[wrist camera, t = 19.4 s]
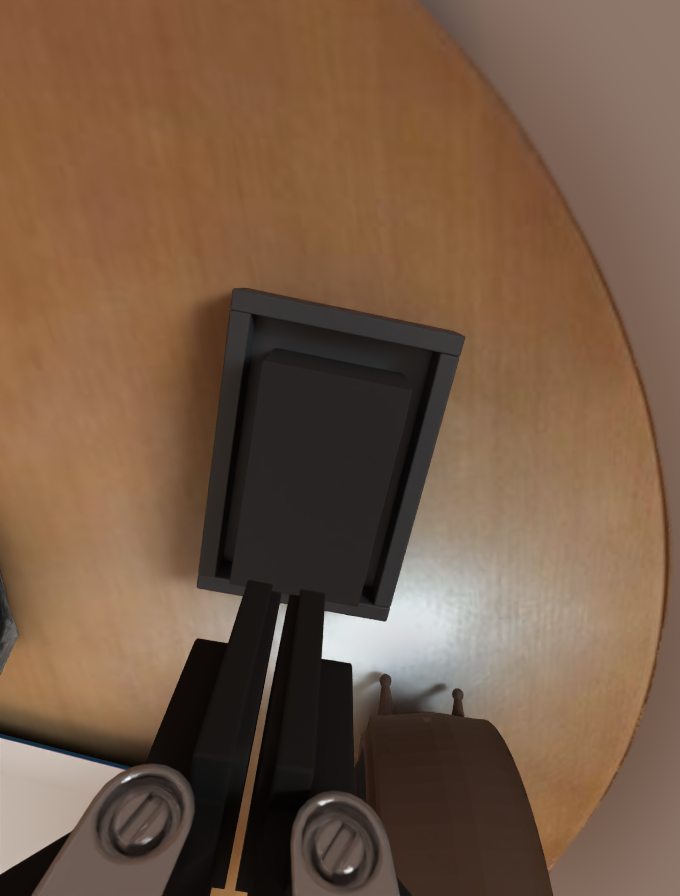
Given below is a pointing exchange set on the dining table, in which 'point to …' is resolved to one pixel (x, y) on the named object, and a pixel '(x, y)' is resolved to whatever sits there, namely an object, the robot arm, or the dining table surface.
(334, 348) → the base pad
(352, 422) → the black rectangular block
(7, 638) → the electronic device
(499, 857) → the alarm clock
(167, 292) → the dining table surface
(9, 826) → the plate
